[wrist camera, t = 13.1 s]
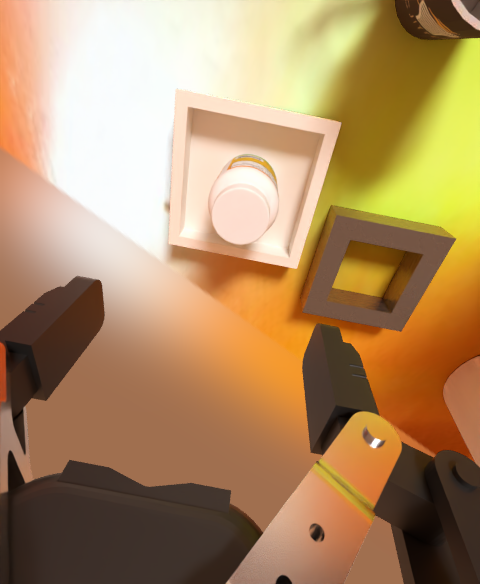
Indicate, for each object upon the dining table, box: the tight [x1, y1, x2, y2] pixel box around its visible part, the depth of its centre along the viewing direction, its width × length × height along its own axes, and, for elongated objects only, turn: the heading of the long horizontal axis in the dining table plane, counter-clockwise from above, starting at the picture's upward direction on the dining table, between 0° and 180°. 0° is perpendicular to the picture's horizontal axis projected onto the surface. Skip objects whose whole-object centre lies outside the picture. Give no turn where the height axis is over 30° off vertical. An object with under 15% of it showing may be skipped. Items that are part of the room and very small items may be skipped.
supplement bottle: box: [208, 154, 279, 245], centre depth 25 cm, size 5×5×10 cm
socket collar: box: [300, 205, 456, 331], centre depth 32 cm, size 11×11×3 cm
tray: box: [168, 89, 342, 269], centre depth 28 cm, size 13×13×3 cm
